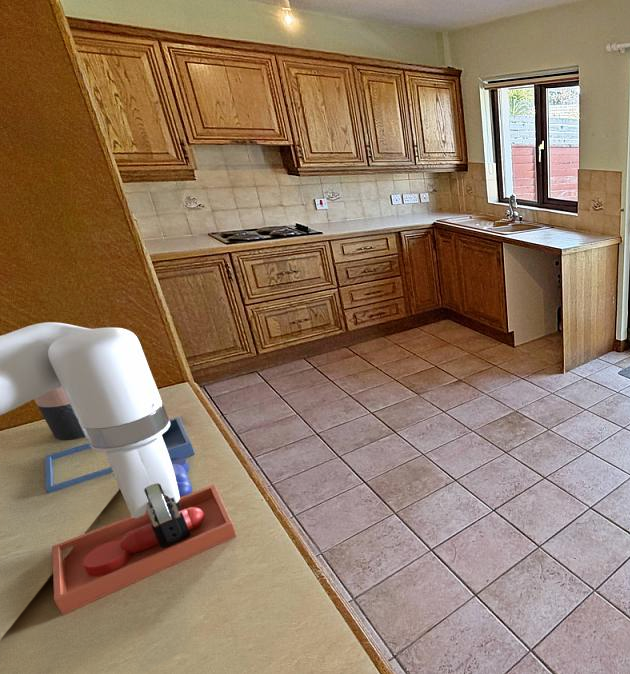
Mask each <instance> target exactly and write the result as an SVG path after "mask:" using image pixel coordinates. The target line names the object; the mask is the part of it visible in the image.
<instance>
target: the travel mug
mask: <svg viewBox="0 0 630 674" xmlns="http://www.w3.org/2000/svg"><path fill="white" fill-rule="evenodd" d="M33 400H34V402H35V404H36V406H37V408H38V410H39V411H40V412H39V413H40V414H41V415H42V417H43V419H44V421H45V423H46V424H47V426H48V428H49V429H50V431H51V433H52V435H53V436H54V438H55V439H56V440H59V441H73V440H79V439H83V438H86V437H85V435H84V433H83V430H82V428H81V426H80V424H79V422H78V420H77V417H76V416H75V413H74V411H73V409H72V407H71V405H70V403H69V400H68V398H67V396H66V394H65V392H64V390H63V388H62V386H61V387H58V388H56V389H53V390H51V391H49V392H47V393H45V394H43V395H41V396H39V397H37V398H35V399H33Z"/></svg>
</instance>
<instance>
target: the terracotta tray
mask: <svg viewBox="0 0 630 674" xmlns="http://www.w3.org/2000/svg"><path fill="white" fill-rule="evenodd" d="M178 502H179V505H180V507H181V510H184V509H186V508H190V507H196V508H199V509H201V510H202V511H203V513H204V520H203V522H202V524H201V525H200V526H199V527H197V528H195V529H193V530H191V531H190V534H191V535H190V536H189V537H188V538H185V539H183V540H181V541H178V542H176V543H174V544H172V545H169V546H167V547H164V548H162V547H161V546H160V544H158V545H156V546H153V547H151V548H149V549H146V550H144V551H141V552H139V553H133V556H132V558H131V559H130V560H129V561H128V562H127V563H126V564H125V565H124V566H122V567H121V568H119V569H117V570H115V571H113V572H111V573H108V574H105V575H101V576H91V575H89V574H88V573H87V572H86V570H85V568H84V566H83V560H84V558H85V557H86V556H87V555H88V554H89V553H90V552H91V551H93V550H94V549H96V548H97V547H99V546H101V545H103V544H106V543H109V542H112V541H117V540H122V538H123V536H124V535H125V534H126V533H128V532H129V531H131V530H133V529H136V528H138V527H141V526H143V525H146V524H148V523H151V522H152V521H151V519H150V516H149V514H148V512H147V509H146V513H145V515H144V516H141V517H139V518H137V519H136V518H133V517H132V516H131V515H130V516H128V517H125V518H123V519H120V520H117V521H115V522H112V523H110V524H106V525H104V526H102V527H98V528H97V529H94V530H91V531H88V532H86V533H83V534H81V535H78V536H76V537H73V538H70V539H68V540H67V539H66V540H65V541H63V542H59V543H57V544H54V545H52V547H51V548H52V572H53V573H52V577H53V601H54V604H55V605H56V607H57V608H58V611H59V612H60V613H61V615H62V616H64V615H67V614H69V613H71V612H73V611H75V610H77V609H80V608H82V607H84V606H87V605H88V604H90V603H93V602H95V601H97V600H99V599H101V598H104V597H106V596H108V595H110V594H113V593H115V592H117V591H119V590H121V589H124V588H126V587H128V586H130V585H132V584H134V583H137V582H140V581H141V580H144V579H146V578H147V577H150V576H152V575H154V574H156V573H160V572H161V571H163V570H165V569H168V568H170V567H172V566H174V565H176V564H179V563H181V562H183V561H185V560H187V559H189V558H192V557H194V556H196V555H198V554H201V553H203V552H205V551H207V550H209V549H212V548H214V547H216V546H218V545H220V544H222V543H225V542H227V541H229V540H231V539H233V538H236V537H237V533H236V530H235V527H234V524H233V522H232V520H231V518H230V516H229V513H228V510H227V509H226V507H225V504H224V502H223V500H222V498H221V496H220V493H219V492H218V489H217V487H216V485H215V484H211V485H209V486H206V487H203V488H200V489H198V490H196V491H192V493H190V494H188V495H185V496H182V497H180V500H179V501H178ZM68 548H71V550H70V551H69V552H68V553H67V555H66V556H65V557H64V558H63V557H62V556H63V555H62V551H63V550H66V549H68ZM62 559H63V560H62Z"/></svg>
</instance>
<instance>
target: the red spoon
mask: <svg viewBox="0 0 630 674" xmlns="http://www.w3.org/2000/svg"><path fill="white" fill-rule="evenodd" d="M181 512H182V514H183V516H184V519H185V521H186V524H187V526H188V529H189V531H191V530H193V529H195V528H197V527H199V526H200V525H201V524H202V522H203V520H204V513H203V511H202V510H201V509H199V508H196V507H190V508H186V509H184V510H181V511H179V513H181ZM152 524H153V523H152V522H151V523H148V524H146V525H143V526H141V527H138V528H136V529H133V530H131V531H129V532H128V533H126V534H125V535H124V536H123V538H122V540H117V541H112V542H109V543H106V544H103V545H101V546H99V547H97V548H96V549H94V550H93V551H91V552H90V553H89V554H88V555H87V556H86V557H85V558H84V560H83V566H84V568H85V570H86V572H87V573H88V574H89V575H91V576H101V575H105V574H108V573H111V572H113V571H115V570H117V569H119V568H121V567H122V566H124V565H125V564H126V563H127V562H128V561H129V560H130V559H131V558H132V556H133V553H139V552H141V551H144V550H146V549H149V548H151V547H153V546H156V545H158V544H159V542H158V540H157V537H156V535H155V533H154V531H153V528H152V526H151V525H152Z"/></svg>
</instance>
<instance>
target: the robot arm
mask: <svg viewBox="0 0 630 674" xmlns="http://www.w3.org/2000/svg"><path fill="white" fill-rule="evenodd" d="M61 386H62V388H63V390H64V392H65V394H66V396H67V398H68V400H69V403H70V405H71V407H72V409H73V411H74V413H75V416H76V417H77V420H78V422H79V424H80V426H81V428H82V430H83V433H84V435H85V437H84V438H85V440H86V442H87V444H88V443H89V445H90V447H91V448H90V449H91V450H93V451H95V452H100V453H105V455H106V458H107V462H108V464H109V467H111V469H112V471H113V472H112V474H113V476H114V478H115V481H116V483H117V486H118V487H119V490H120V493H121V494H122V497H123V498H124V502H125V504H126V506H127V508H128V511H129V513H130V516H132V517H133V518H136V519H137V518H139V517H141V516H144V515H145V513H146V510H147V512H148V514H149V516H150V519H151V521H152V523H153V524H152V525H151V526H152V528H153V531H154V533H155V535H156V537H157V540H158V542H159V544H160V546H161V547H162V548H164V547H167V546H169V545H172V544H174V543H176V542H178V541H181V540H183V539H185V538H188V537H189V536H190V535H191V534H190V531H189V529H188V526H187V524H186V521H185V519H184V516H183V514H182V512H181V513H179V511H181V507H180V505H179V502H178V501H179V500H180V495H179V491H178V486H177V482H176V477H175V473H174V470H173V466H172V463H171V460H170V457H169V454H168V451H167V448H166V445H165V443H164V440H163V437H162V434H163V433H165V432H166V431H167V430H168V428H169V427H170V421H169V420H170V419H169V415H168V413H167V411H166V408H165V405H164V403H163V400H162V398H161V395H160V392H159V390H158V386H157V384H156V381H155V379H154V376H153V373H152V370H151V369H150V366H149V364H148V361H147V358H146V355H145V352H144V350H143V347H142V345H141V342H140V340H139V338H138V337H137V335H136V334H135V333H134V332H133V331H131V330H129V329H126V328H122V327H97V328H89V327H83V326H79V325H74V324H69V323H63V322H54V321H52V322H51V321H48V322H47V321H45V322H40V323H35V324H31V325H30V324H29V325H27V326H25V327H22V328H19V329H16V330H13V331H11V332H8V333H5V334H1V335H0V416H3V415H4V414H6V413H9V412H11V411H13V410H15V409H18V408H19V407H21V406H24V405H25V404H27V403H29V402H31V401H33V400H34V399H35V398H37V397H39V396H41V395H43V394H45V393H47V392H49V391H51V390H53V389H56V388H58V387H61Z"/></svg>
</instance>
